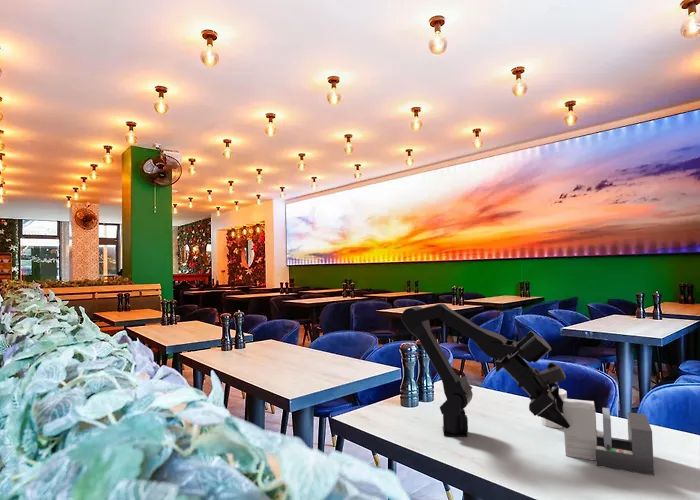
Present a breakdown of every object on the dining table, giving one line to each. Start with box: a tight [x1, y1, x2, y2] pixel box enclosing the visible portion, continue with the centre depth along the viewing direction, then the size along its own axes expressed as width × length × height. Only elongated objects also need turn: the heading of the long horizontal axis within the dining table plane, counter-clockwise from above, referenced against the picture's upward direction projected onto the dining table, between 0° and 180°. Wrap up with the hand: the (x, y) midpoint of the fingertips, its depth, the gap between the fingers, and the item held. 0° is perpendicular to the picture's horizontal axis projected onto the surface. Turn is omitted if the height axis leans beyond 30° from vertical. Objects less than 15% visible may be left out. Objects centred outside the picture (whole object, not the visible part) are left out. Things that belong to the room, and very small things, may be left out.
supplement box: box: [563, 398, 598, 461], centre depth 113 cm, size 7×7×13 cm
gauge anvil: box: [595, 412, 655, 476], centre depth 108 cm, size 12×12×10 cm
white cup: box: [540, 387, 568, 429], centre depth 133 cm, size 8×8×10 cm
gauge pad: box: [601, 407, 612, 449], centre depth 109 cm, size 2×10×10 cm, turn 152°
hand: (569, 421), depth 114 cm, fingers open, 9 cm apart
